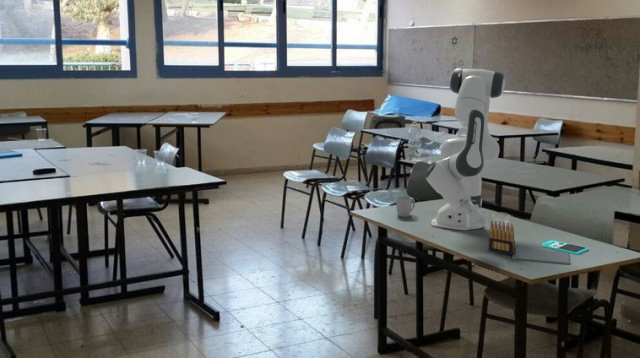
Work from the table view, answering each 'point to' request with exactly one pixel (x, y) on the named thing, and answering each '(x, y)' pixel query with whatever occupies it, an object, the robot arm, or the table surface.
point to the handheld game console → (564, 247)
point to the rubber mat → (541, 256)
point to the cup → (404, 206)
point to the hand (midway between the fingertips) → (484, 223)
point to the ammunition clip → (502, 238)
